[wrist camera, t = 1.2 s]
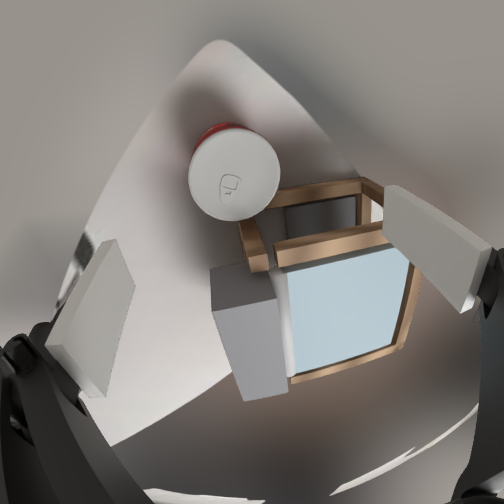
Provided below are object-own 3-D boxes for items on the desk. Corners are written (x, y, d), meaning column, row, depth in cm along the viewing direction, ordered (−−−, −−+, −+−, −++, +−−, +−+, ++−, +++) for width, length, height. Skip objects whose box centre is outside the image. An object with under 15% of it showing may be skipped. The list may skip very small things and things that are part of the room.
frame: (255, 312, 44) (273, 388, 31) (232, 198, 34) (248, 257, 22) (359, 287, 45) (402, 348, 32) (364, 176, 35) (432, 218, 23)
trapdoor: (238, 362, 33) (244, 402, 28) (209, 266, 26) (210, 308, 21) (378, 325, 34) (399, 357, 29) (393, 227, 27) (427, 256, 22)
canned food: (194, 188, 33) (189, 223, 24) (194, 122, 29) (186, 129, 20) (257, 186, 34) (277, 221, 25) (260, 122, 30) (284, 130, 21)
